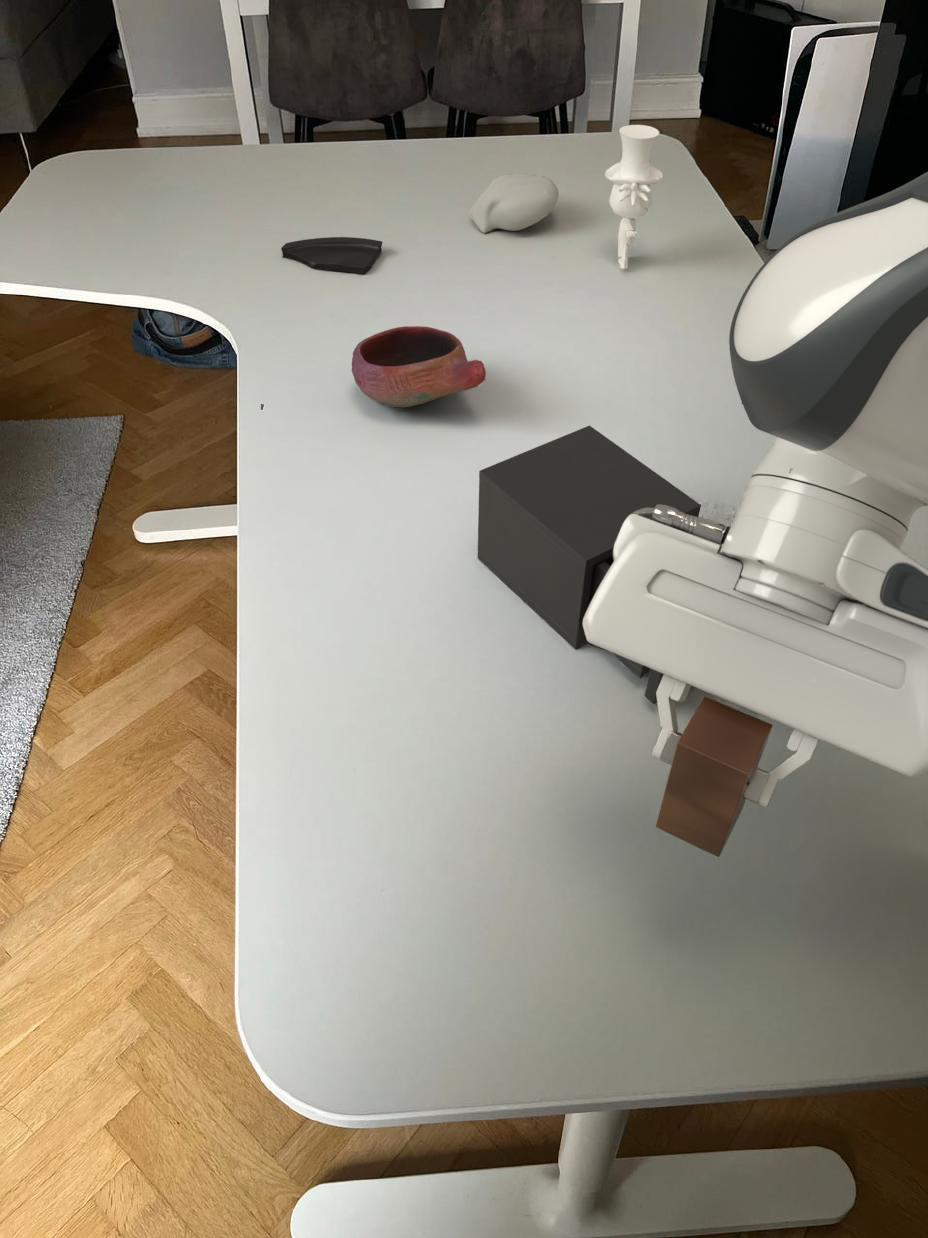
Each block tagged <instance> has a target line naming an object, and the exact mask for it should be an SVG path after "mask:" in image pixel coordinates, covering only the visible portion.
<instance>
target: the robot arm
mask: <svg viewBox="0 0 928 1238" xmlns="http://www.w3.org/2000/svg"><path fill="white" fill-rule="evenodd" d="M728 337H729V338H728V343H729V344H728V345H729V355H730V357H729V358H730V364H731V370H732V374H733V378H734V382H735V386H736V389H737V393H738V395H739V399H740V401H741V404H742V407H743V409H744V411H745V413H746V415H747V418H748V420H749V422H750V424H751V425H752V426H753V427H754V428H755V429H757V430H759V431H761V432H764V433H766V434H769V435H772V436H774V439H773V442H772V445H771V447H770V448H769V450H768V452H767V453H766V454H765V456H764V457H763V458H762V459H761V461H760V462H759V463H758V464H757V466H756V467H755V468H754V471H753V472H752V474H751V477H750V479H749V481H748V483H747V485H746V487H745V490H744V492H743V495H742V497H741V499H740V503H739V505H738V507H737V509H736V512H735V514H734V516H733V519H732V522H731V525H729V526H727V525H725V524H722V523H718V522H716V521H713V520H710V519H707V518H703V517H700V516H699V517H694V516H692V515H688V514H685V513H682V512H679V510H678V509H676V508H673V507H670V506H667V505H661V504H658V505H656V507H655V508H642V509H639V510H637V511H634V512H633V513H631V514H630V515H629V516H628V517H627V518H626V519H625V521H624V522H623V524H622V526H621V529H620V531H619V533H618V536H617V538H616V541H615V543H614V547H613V560H614V562H613V564H612V565H611V567H610V568H609V570H608V572H607V573H606V575H605V577H604V578H603V580H602V582H601V584H600V585H599V587H598V589H597V591H596V593H595V595H594V597H593V599H592V601H591V603H590V605H589V607H588V609H587V611H586V613H585V616H584V618H583V629H584V632H585V636H586V639H587V641H588V642H589V643H588V644H592V645H594V646H596V647H598V648H600V649H603V650H605V651H608V652H610V653H612V652H613V653H615V654H617V655H620V656H622V657H625V658H627V659H629V660H632V661H634V662H636V663H639V664H641V665H644V666H646V667H648V668H651V669H653V670H656V671H658V672H660V673H663V674H664V675H663V677H662V680H661V682H660V685H659V687H658V689H657V692H656V696H657V703H656V704H657V710H658V717H659V718H658V719H659V724H660V728H661V731H660V733H659V735H658V738H657V740H656V743H655V745H654V748H653V750H652V753H651V757H652V758H654V759H656V760H659V761H661V762H662V763H666V764H667V765H672V761H673V757H674V753H675V750H676V746H677V743H678V741H679V739H680V737H681V736H682V734H683V733H681V732H680V731H679V725H678V718H677V717H678V716H677V709H676V702H685V701H686V699H687V697H688V694H689V692H690V690H691V688H692V687H694V688H696V689H699V690H701V691H704V692H706V693H709V694H711V695H712V696H715V697H717V698H720V699H722V700H725V701H727V702H729V703H732V704H734V705H737V706H739V707H741V708H743V709H746V710H749V711H751V712H753V713H756V714H758V715H760V716H763V717H765V718H767V719H770V720H772V721H775V722H777V723H778V724H779V723H780V724H782V725H784V726H786V727H789V728H792V732H791V734H790V737H789V739H788V741H787V744H786V748H787V750H790V751H792V752H795V753H794V754H792V755H791V756H789V757H788V758H787V759H785V760H784V761H782V762H781V763H780V764H778V765H777V766H775V767H774V768H773V769H771V770H770V771H768V770H766V769H763V768H761V767H759V766H758V767H756V768H754V770H753V772H752V774H751V777H750V779H749V784H748V785H747V786H746V788H745V791H744V793H743V796H742V797H743V798H745V799H746V801H750V802H751V803H754V804H756V805H758V806H760V807H762V808H765V809H767V808H768V807H769V805H770V803H771V800H772V797H773V796H774V793H775V791H776V788H777V786H778V784H779V781H780V780H782V779H784V778H786V777H787V776H789V775H790V774H791V773H793V772H794V771H796V770H797V769H798V768H800V767H802V766H803V765H805V764H806V763H807V762H808V761H810V760H811V759H812V757H813V756H814V752H815V751H816V748H817V747H818V743H819V741H822V742H824V743H827V744H830V745H832V746H834V747H837V748H839V749H841V750H844V751H845V752H849V753H851V754H853V755H856V756H858V757H861V758H862V759H865V760H866V761H867V760H868V761H870V762H872V763H875V764H877V765H880V766H882V767H884V768H886V769H889V770H891V771H894V772H896V773H899V774H901V775H903V776H906V777H908V778H915V777H918V776H921V775H924V774H926V773H928V568H927V567H926V566H924V565H923V564H921V563H920V562H919V561H918V560H916V559H915V558H913V557H912V556H910V555H909V554H908V553H907V552H905V551H903V550H902V549H901V548H902V547H903V544H904V541H905V539H906V537H907V535H908V532H909V527H910V524H911V521H912V518H913V516H914V514H915V513H916V512H917V511H918V510H919V509H921V508H924V507H928V171H927V172H924V173H923V174H921V175H920V176H918V177H916V178H914V179H912V180H911V181H908V182H906V183H904V184H903V185H901V186H899V187H897V188H895V189H893V190H891V191H888V192H886V193H884V194H882V195H879V196H876V197H874V198H872V199H869V200H866V201H864V202H861V203H858V204H856V205H854V206H851V207H849V208H846V209H843V210H841V211H838V212H837V213H834V214H832V215H830V216H826V217H824V218H823V219H821V220H819V221H816V222H815V223H813V224H812V225H809V226H808V227H806V228H805V229H802V230H801V231H800V232H797V233H796V234H795V235H793V236H792V237H790V238H789V239H788V240H787V241H785V242H784V243H783V244H782V245H781V246H780V247H778V248H777V249H776V250H775V251H774V252H773V253H772V254H771V255H770V256H769V257H768V258H767V260H766V261H765V262H764V263H763V265H761V266H760V268H759V269H758V270H757V272H756V273H755V274H754V276H753V277H752V279H751V280H750V281H749V284H748V285H747V287H746V288H745V290H744V291H743V293H742V295H741V297H740V299H739V301H738V304H737V305H736V308H735V311H734V313H733V316H732V320H731V324H730V328H729V336H728ZM646 514H651V515H652V519H653V520H655V521H653V520H650V519H647V518H645V517H642V515H646ZM672 527H675V528H678V529H681V530H684V531H686V532H689V533H690V534H689V533H686V532H683V531H681V530H678V529H675V528H672ZM692 534H693V535H692ZM719 553H720V554H721V555H720V554H719ZM613 653H612V654H613Z"/></svg>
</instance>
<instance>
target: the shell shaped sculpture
mask: <svg viewBox="0 0 928 1238" xmlns="http://www.w3.org/2000/svg"><path fill="white" fill-rule="evenodd" d="M559 195H560V191H559V189H558V187H557V185H556V183H554V180H553V179H552V178H550V177H547V176H544V175H537V174H534V173H508V174H504V175H500V176H496V177H495V178H494V179H493V181H491V182H490V183H489V185H488V186H487V187H486V189H485V191H484V192H482V193H481V194H480V196H479V197H478V198H477V200H476V202H475V203H474V204H473V205H472V206H471V208H470V210H469V215H470V216H471V219H472V221H473V223H474V224H475V225H476V226H477V228H478V229H479V231H480V232H481V233H482V234H487V233H489V232H491V231H493V230H496V229H500V230H504V231H510V232H511V231H512V232H516V231H522V230H524V229H526V228H528V227H530V226H531V227H532V226H533V225H535V224H537V223H538V222H540V221H541V220H543V219H544V218H546V217H547V216H548V215H549V214H550V213H551V212H552V211H553V209H554V208H555V206H556V205H557V203H558V200H559Z"/></svg>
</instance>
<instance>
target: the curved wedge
mask: <svg viewBox="0 0 928 1238" xmlns="http://www.w3.org/2000/svg"><path fill="white" fill-rule="evenodd" d="M382 246H383V241H382V240H378V239H371V238H365V237H352V236H328V237H316V238H306V239H301V240H295V241H289V242H285V244H284V245H282V246H281V248H280V251H281V253H282V258H285V259H288V260H293V261H296V262H299V263H301V264H302V265H305V266H308V267H309V268H311V269H315V270H324V271H336V272H346V273H356V274H366V272H367V271H368V270H369V269H371V267H372V266H373V265H374V262H375V260H376V258H377V257H378V256H379V255H380V254H381V253H382Z"/></svg>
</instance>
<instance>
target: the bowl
mask: <svg viewBox="0 0 928 1238" xmlns="http://www.w3.org/2000/svg"><path fill="white" fill-rule="evenodd" d="M351 373H352V376H353V379H354V381H355V383H356V385H357V387H358V388H359V389H360V391H361V392H362V393H363V394H364V395H365V396H367V397H368V398H369V399H371V400H372V401H374V402H376V403H378V404H381V405H383V406H387V407H392V408H410V407H415V406H419V405H423V404H425V403H429V402H432V401H435V400H436V399H439V398H442V397H444V396H448V395H452V394H457V393H462V392H464V391H468V390H471V389H475V388H477V387H479V386H480V385H481V384H482V383H484V382H485V380H486V376H487V371H486V368H485V364H484V363H483V361H482V360H477V359H473V360H469V361H468V358H467V354H466V351H465V348H464V345H463V343H462V341H461V340H460V339H459V338H458V337H457V336H456V335H454V334H452V333H450V332H449V331H445V330H441V329H438V328H435V327H431V326H423V325H421V326H420V325H416V326H415V325H414V326H413V325H412V326H410V325H409V326H406V325H405V326H399V327H398V326H397V327H394V328H391V329H390V328H389V329H386V330H383V331H380V332H377V333H374V334H373V335H371V336H369V337H367V338H364V339H363V340H361V341H360V342H358V343H357V345H356V346H355V347H354V349H353V352H352V358H351Z"/></svg>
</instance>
